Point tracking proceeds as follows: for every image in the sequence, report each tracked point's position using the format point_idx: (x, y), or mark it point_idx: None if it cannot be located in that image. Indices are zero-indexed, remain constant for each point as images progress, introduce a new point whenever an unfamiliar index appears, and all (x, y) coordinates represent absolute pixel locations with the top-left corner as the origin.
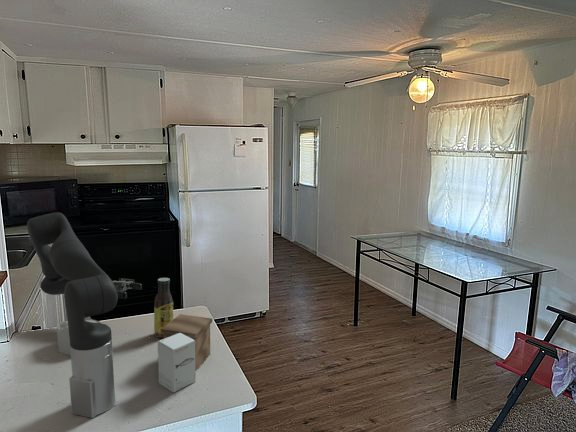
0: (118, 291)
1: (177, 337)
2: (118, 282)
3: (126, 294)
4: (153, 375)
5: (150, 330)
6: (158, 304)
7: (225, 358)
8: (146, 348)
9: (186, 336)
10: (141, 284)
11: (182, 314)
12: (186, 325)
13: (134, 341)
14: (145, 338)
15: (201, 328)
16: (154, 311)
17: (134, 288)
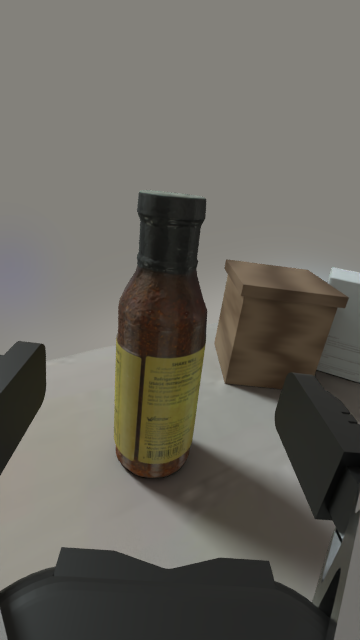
0: (344, 428)
1: (352, 276)
2: (3, 637)
3: (288, 387)
4: (353, 399)
5: (122, 523)
6: (205, 322)
7: (214, 328)
8: (270, 463)
9: (334, 271)
10: (26, 344)
11: (242, 281)
12: (289, 276)
13: (254, 539)
14: (207, 504)
15: (280, 266)
16: (190, 375)
17: (9, 447)
